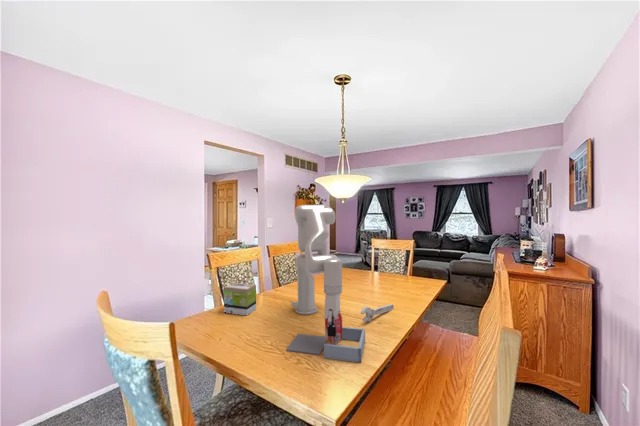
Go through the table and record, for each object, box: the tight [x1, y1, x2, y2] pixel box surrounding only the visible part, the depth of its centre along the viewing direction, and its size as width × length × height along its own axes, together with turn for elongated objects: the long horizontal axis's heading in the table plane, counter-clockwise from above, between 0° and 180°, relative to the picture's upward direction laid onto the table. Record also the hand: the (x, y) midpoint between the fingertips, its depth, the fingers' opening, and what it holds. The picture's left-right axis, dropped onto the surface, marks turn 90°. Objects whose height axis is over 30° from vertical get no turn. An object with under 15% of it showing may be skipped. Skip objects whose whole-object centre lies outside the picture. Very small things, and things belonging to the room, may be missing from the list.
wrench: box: [360, 303, 395, 323], centre depth 141 cm, size 8×2×30 cm
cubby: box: [323, 326, 366, 364], centre depth 109 cm, size 14×17×5 cm
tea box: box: [223, 282, 257, 316], centre depth 151 cm, size 15×10×15 cm
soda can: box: [324, 310, 343, 345], centre depth 110 cm, size 7×7×12 cm
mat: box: [285, 333, 327, 356], centre depth 113 cm, size 14×14×1 cm
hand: (333, 331), depth 111 cm, fingers closed on soda can, 7 cm apart
